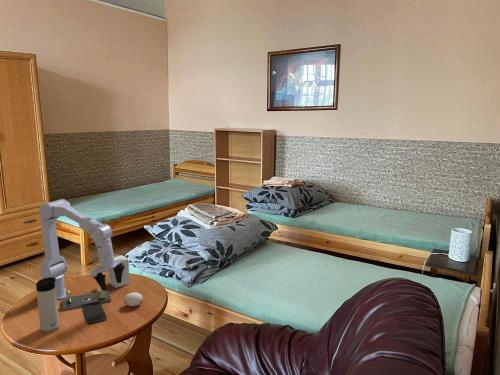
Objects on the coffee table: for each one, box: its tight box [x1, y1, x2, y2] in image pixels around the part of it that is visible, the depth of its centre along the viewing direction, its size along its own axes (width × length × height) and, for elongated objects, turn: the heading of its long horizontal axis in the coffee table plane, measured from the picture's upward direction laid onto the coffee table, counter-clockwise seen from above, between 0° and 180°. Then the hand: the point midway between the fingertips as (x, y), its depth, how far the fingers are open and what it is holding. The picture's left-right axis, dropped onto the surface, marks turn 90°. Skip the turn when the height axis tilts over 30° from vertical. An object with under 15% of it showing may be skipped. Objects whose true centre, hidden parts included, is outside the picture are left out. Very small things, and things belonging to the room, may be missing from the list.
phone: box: [82, 303, 108, 326], centre depth 155 cm, size 7×1×15 cm
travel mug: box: [35, 277, 60, 334], centre depth 142 cm, size 6×7×20 cm
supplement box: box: [107, 254, 131, 289], centre depth 181 cm, size 7×7×13 cm
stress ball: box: [123, 292, 143, 307], centre depth 162 cm, size 8×8×7 cm
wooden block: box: [96, 285, 106, 299], centre depth 166 cm, size 5×3×3 cm, turn 25°
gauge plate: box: [61, 289, 112, 311], centre depth 164 cm, size 9×19×6 cm, turn 115°
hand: (111, 286), depth 157 cm, fingers open, 7 cm apart
